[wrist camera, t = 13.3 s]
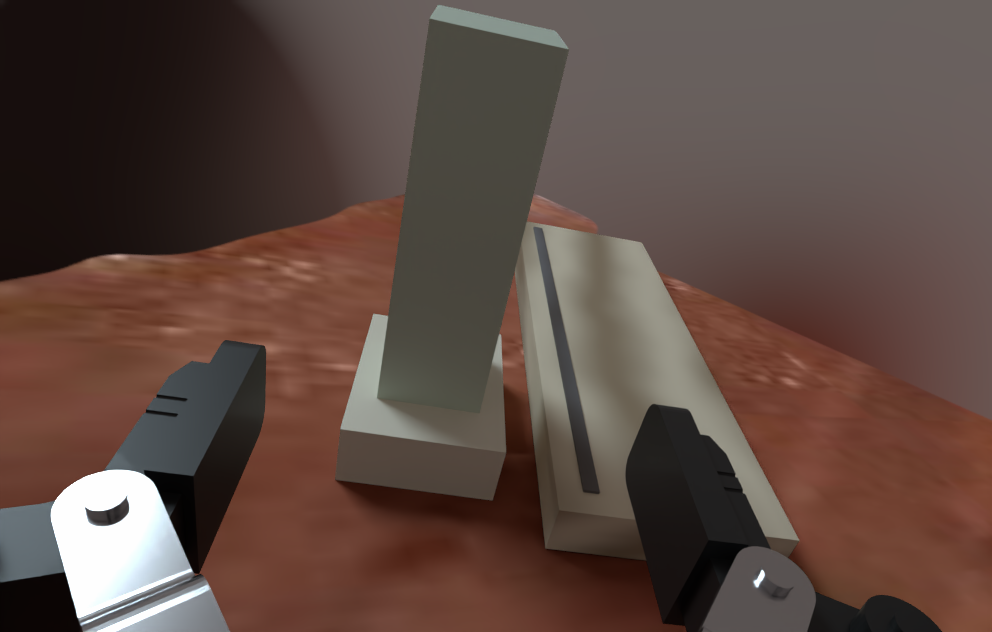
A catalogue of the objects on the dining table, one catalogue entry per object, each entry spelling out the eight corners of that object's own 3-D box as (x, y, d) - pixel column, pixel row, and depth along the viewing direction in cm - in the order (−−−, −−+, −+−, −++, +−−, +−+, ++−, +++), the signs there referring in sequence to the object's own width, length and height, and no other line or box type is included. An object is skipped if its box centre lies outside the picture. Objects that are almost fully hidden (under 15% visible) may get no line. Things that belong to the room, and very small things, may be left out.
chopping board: (633, 267, 47) (642, 241, 45) (776, 575, 24) (800, 538, 23) (512, 245, 45) (518, 218, 44) (545, 548, 23) (560, 507, 22)
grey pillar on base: (490, 377, 31) (576, 29, 23) (492, 500, 25) (615, 69, 17) (368, 357, 31) (413, -7, 23) (334, 479, 24) (384, 18, 16)
